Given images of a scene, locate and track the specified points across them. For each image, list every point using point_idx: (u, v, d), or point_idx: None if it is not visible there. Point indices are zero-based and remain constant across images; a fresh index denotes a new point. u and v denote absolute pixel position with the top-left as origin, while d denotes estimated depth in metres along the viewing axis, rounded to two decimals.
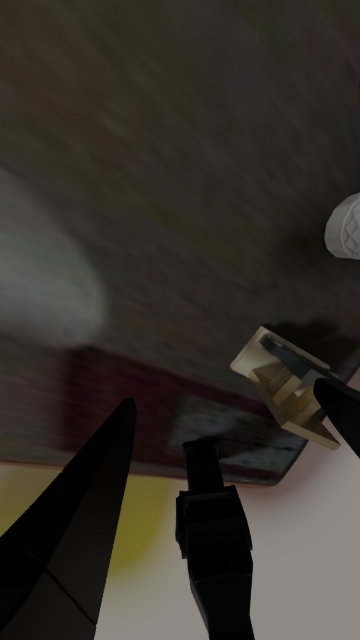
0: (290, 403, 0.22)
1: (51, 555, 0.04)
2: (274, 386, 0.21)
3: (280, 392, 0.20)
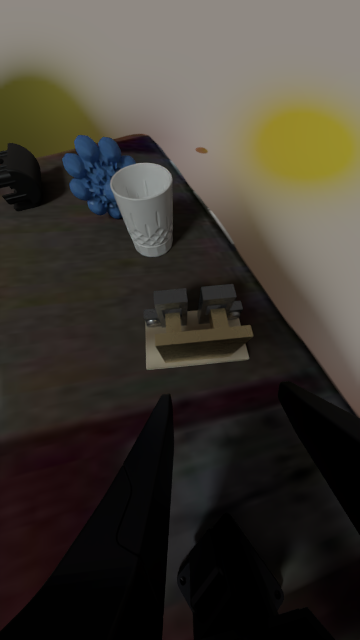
0: None
1: (137, 546, 0.04)
2: None
3: None
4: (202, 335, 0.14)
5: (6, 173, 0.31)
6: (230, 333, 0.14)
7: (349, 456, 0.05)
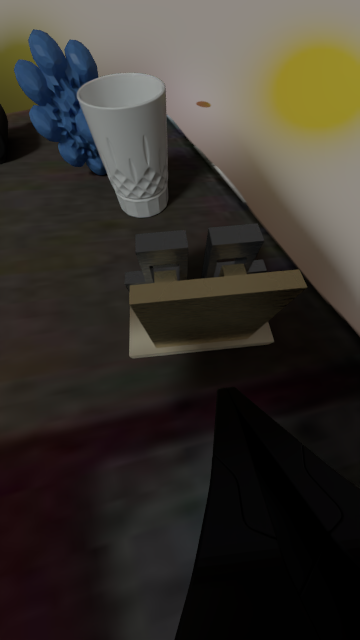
0: None
1: (264, 530, 0.04)
2: None
3: None
4: (215, 286, 0.08)
5: None
6: (265, 283, 0.08)
7: (265, 466, 0.05)
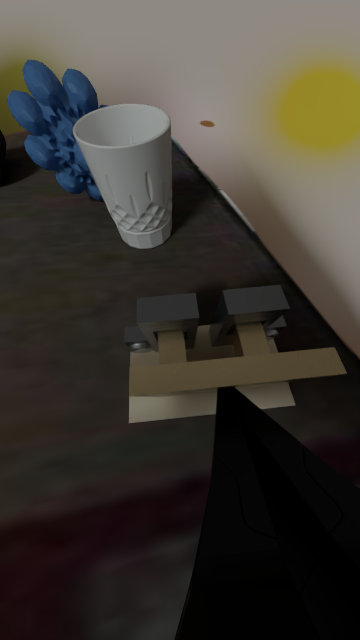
0: None
1: (265, 531, 0.04)
2: None
3: (166, 360, 0.10)
4: (233, 371, 0.06)
5: None
6: (294, 366, 0.07)
7: (265, 466, 0.05)
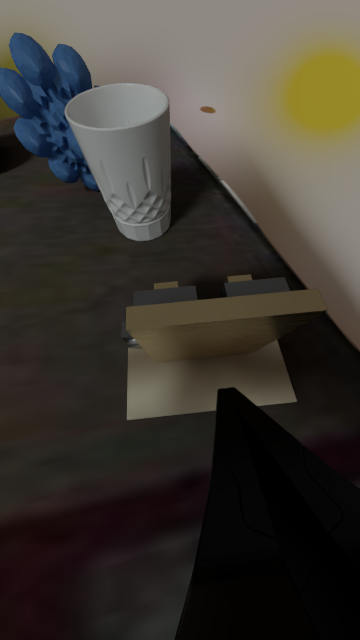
0: None
1: (265, 531, 0.04)
2: None
3: None
4: (223, 308, 0.07)
5: None
6: (279, 304, 0.07)
7: (265, 465, 0.05)
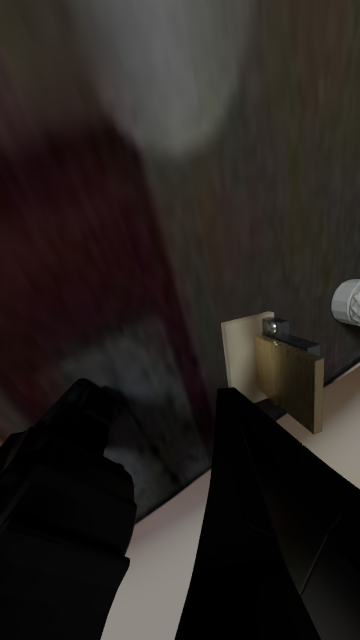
0: None
1: (265, 531, 0.04)
2: None
3: None
4: (318, 397, 0.16)
5: None
6: (317, 418, 0.17)
7: (264, 465, 0.05)
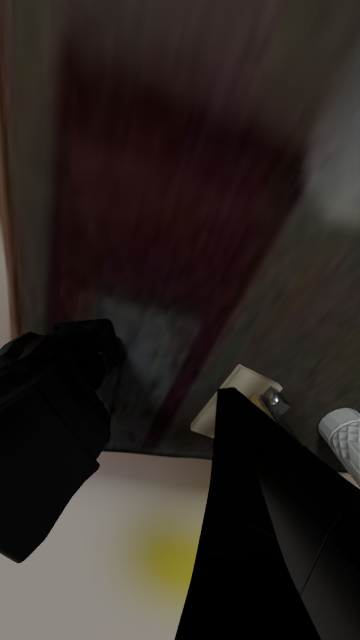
0: None
1: (265, 531, 0.04)
2: None
3: None
4: None
5: None
6: None
7: (265, 466, 0.05)
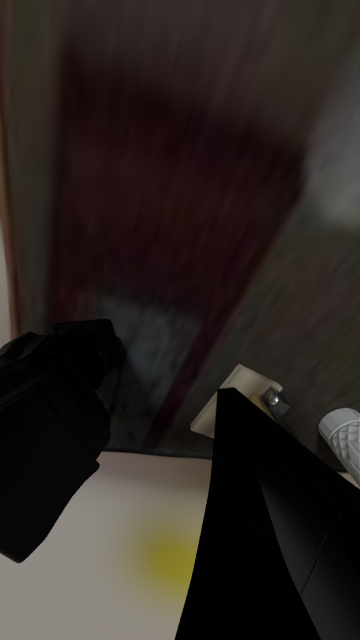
0: None
1: (265, 531, 0.04)
2: None
3: None
4: None
5: None
6: None
7: (265, 466, 0.05)
